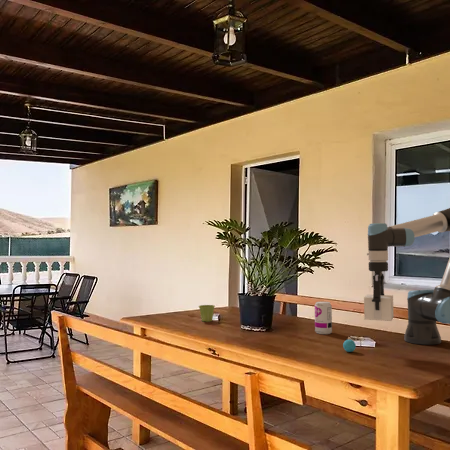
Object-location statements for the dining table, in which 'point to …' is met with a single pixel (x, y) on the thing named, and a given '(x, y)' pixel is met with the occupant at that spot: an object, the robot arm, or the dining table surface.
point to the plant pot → (206, 312)
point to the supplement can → (323, 317)
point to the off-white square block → (385, 308)
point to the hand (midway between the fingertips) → (379, 316)
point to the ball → (349, 345)
